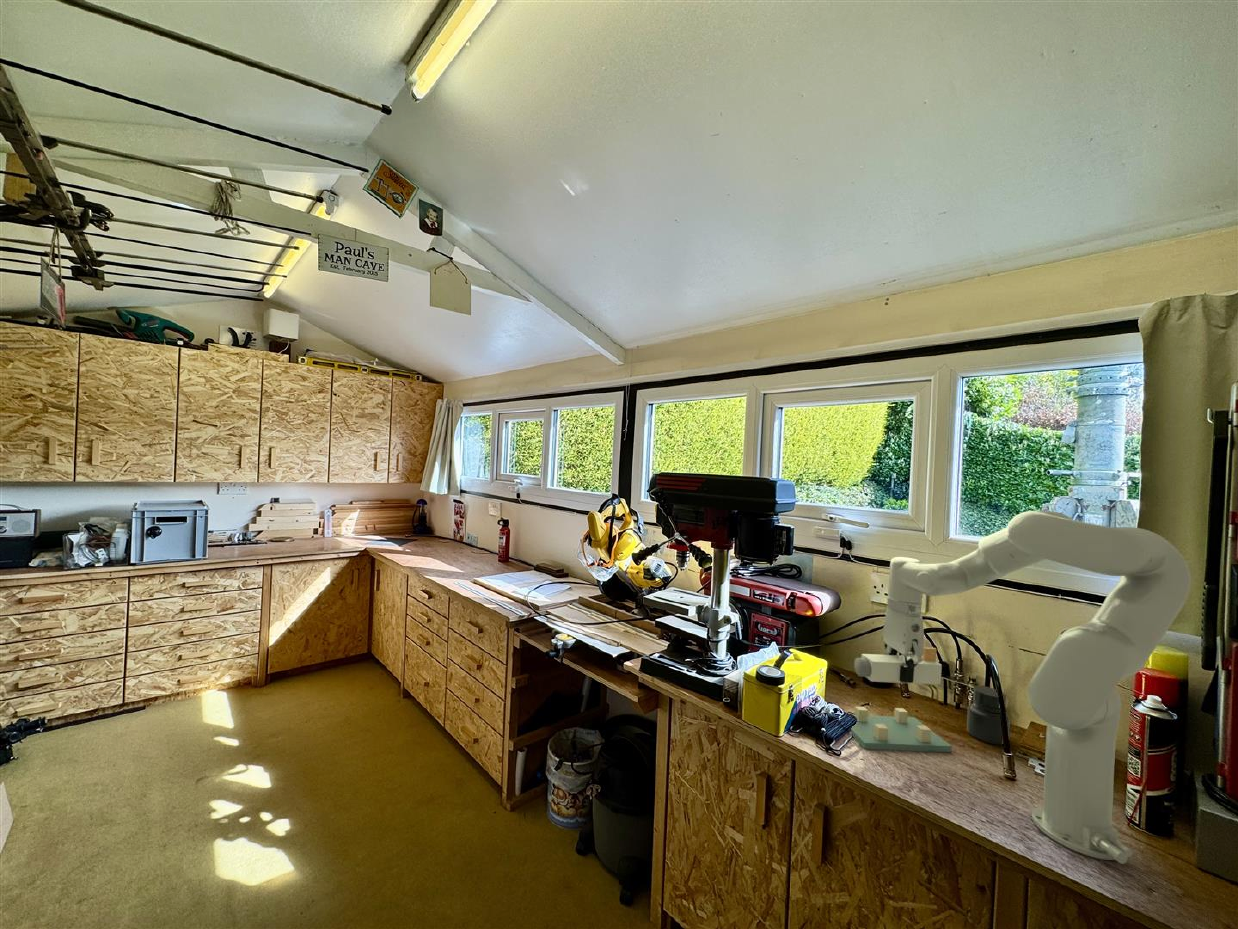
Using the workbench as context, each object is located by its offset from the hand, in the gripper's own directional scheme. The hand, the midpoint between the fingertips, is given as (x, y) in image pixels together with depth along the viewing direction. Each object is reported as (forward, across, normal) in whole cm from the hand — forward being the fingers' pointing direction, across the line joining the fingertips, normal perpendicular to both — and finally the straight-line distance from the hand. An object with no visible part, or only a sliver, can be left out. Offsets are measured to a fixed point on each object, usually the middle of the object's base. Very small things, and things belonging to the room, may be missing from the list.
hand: (899, 676), depth 124 cm
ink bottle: (+16, +2, -27) cm, 32 cm away
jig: (+16, +2, 0) cm, 16 cm away
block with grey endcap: (+1, 0, 0) cm, 1 cm away
